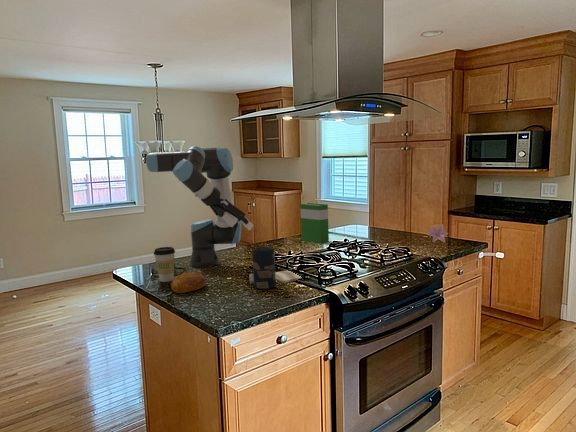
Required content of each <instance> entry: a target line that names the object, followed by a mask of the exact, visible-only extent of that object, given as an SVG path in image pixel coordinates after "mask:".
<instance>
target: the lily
mask: <svg viewBox="0 0 576 432" xmlns="http://www.w3.org/2000/svg"><path fill="white" fill-rule="evenodd" d="M430 227H431V230H430V231H428V232H426V233H425V235H427V236H430V237H432V242H433V243H435V242H436V241H438V240H440V241H441V242H442V243H446V238H445V236H447V235H449V232H447V231H444V224H443V223H441V224H440V225H439V226H437V227H436V226H434V225H430Z"/></svg>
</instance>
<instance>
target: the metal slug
mask: <svg viewBox="0 0 576 432" xmlns="http://www.w3.org/2000/svg"><path fill="white" fill-rule="evenodd" d="M248 276H249V277H248V278H249V279H248V280H249V285H254V275H253V273H249V274H248Z"/></svg>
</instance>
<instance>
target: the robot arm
mask: <svg viewBox="0 0 576 432" xmlns="http://www.w3.org/2000/svg"><path fill="white" fill-rule="evenodd" d="M145 158H146V159H145V162H146V168H147V170H148V172H150V173H159V172H160V173H166V172H172V174H173V175H174V176H175V178H177V180H178V181H179V182H181V183H182V184H183V185H184V186H185V187H186V188H187V189H189V190H190V191H191V192H192V194H194V197H195V198H198V199H199V200H200V202H202V203H203V204H204V205H206V206H207V207H209V208H210V209H211V210H212V212H213V214H215V216H216V217H217V218H216V219H215V221H214V220H213V219H203V220H199V221H195V222H193V223H192V224H191V225H190V236H191V247H192V251H191V255H190V259H189V265H190V267H193V268H206V267H212V266H215V265H216V266H217V265H218V264H219V263H220V261H219V260H220V259H219V256H218V255H217V252H216V248H215V245H229V244H231V245H233V244H234V245H236V244H239V243H240V241H241V236H242V225H243V226H244V227H245V228H246V230H248V231H251V230H252V228H253V227H254V226H255V225H254V224H253V223H252V222H251V220H249V219H248V218H247V217H246V213H244V212H243V211H242V210H241V209H239V208H238V207H236V206H235V205H234V204H233V200H232V193H231V187H230V181H229V177H230V176H231V173H232V172H233V170H234V161H233V157H232V153H231V151H230V149H229V148H227V147H220V146H218V147H203V148H201V147H199V146H195V145H194V146H193V145H192V146H190V147H189V148H188V149H187V150H181V151H174V152H173V151H172V152H171V151H170V152H169V151H168V152H167V151H166V152H164V151H163V152H151V153H148V154H147V155H146V157H145ZM204 173H205V174H206V176H205V175H204ZM209 179H210V180H209Z"/></svg>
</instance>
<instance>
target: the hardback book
mask: <svg viewBox="0 0 576 432" xmlns="http://www.w3.org/2000/svg"><path fill="white" fill-rule="evenodd" d="M299 208H300V209H299V210H300V228H301V230H300V232H301V237H300V238H301V241H302V242H309V243H313V244H314V243H315V244H320V245H321V244H325V243H329V241H330V237H329V236H330V235H329V204H326V203H313V202H312V203H311V202H307V204H306V203H300V207H299Z"/></svg>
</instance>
